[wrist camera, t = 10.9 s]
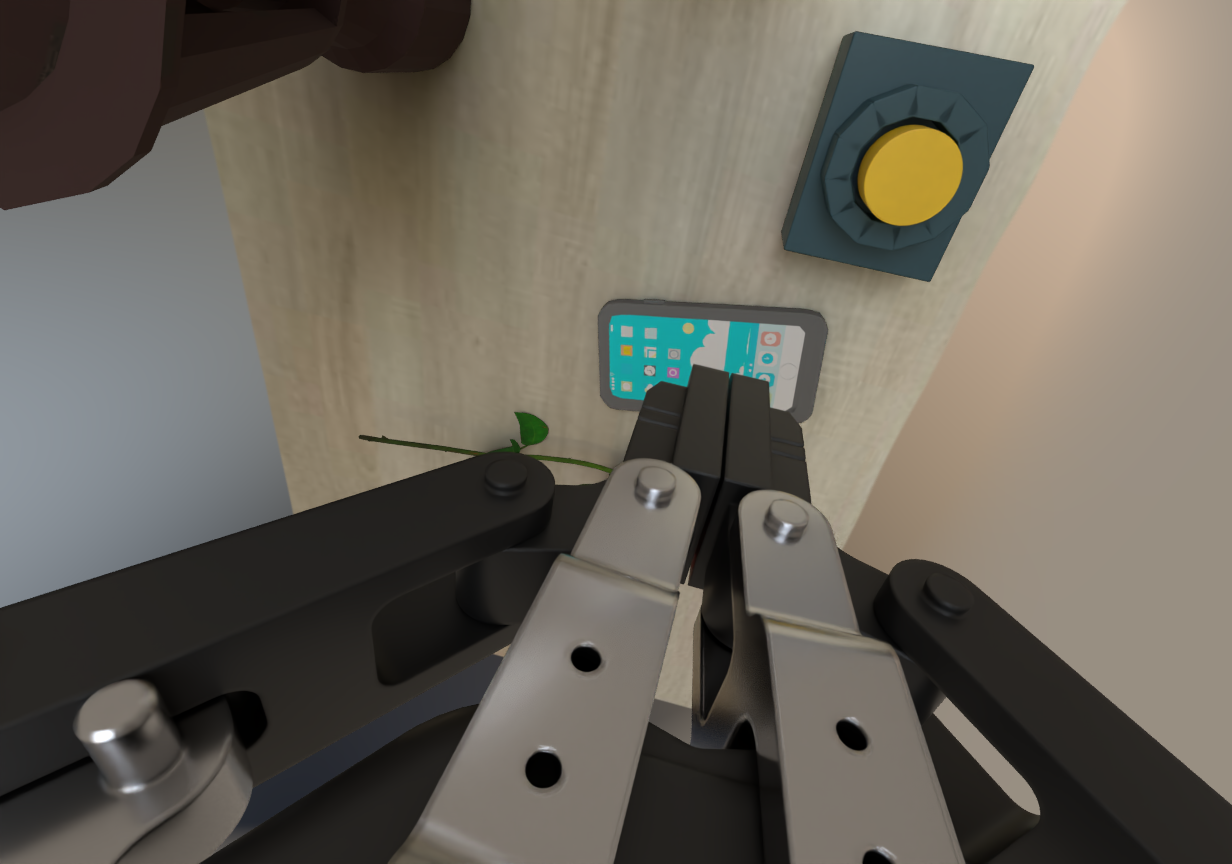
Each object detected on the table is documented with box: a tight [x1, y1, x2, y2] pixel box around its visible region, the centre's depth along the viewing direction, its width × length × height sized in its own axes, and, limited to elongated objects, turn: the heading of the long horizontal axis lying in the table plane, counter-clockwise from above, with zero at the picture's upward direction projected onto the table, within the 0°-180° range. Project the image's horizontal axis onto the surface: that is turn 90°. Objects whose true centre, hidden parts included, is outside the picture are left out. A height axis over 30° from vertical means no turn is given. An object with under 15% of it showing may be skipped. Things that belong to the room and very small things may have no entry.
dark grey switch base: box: [781, 31, 1034, 282], centre depth 29 cm, size 10×8×6 cm
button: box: [857, 125, 963, 226], centre depth 26 cm, size 4×4×2 cm
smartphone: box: [598, 299, 828, 423], centre depth 40 cm, size 9×1×15 cm
